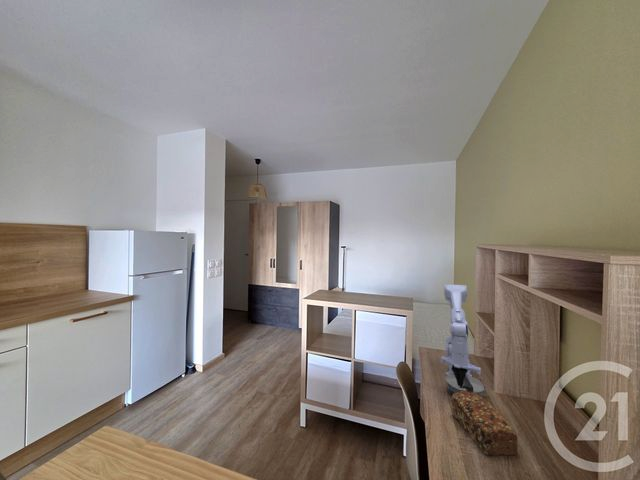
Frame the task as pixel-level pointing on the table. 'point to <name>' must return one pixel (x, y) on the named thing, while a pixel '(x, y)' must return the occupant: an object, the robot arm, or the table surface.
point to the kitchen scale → (453, 390)
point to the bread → (484, 424)
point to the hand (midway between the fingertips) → (460, 385)
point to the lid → (465, 383)
